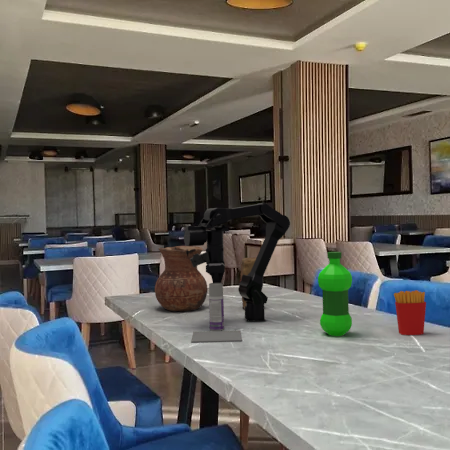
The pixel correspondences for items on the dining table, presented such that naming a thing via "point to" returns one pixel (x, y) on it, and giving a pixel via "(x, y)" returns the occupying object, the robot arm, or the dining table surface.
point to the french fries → (410, 312)
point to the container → (216, 306)
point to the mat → (216, 336)
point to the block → (246, 270)
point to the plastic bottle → (335, 296)
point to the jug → (180, 280)
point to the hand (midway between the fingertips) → (216, 290)
